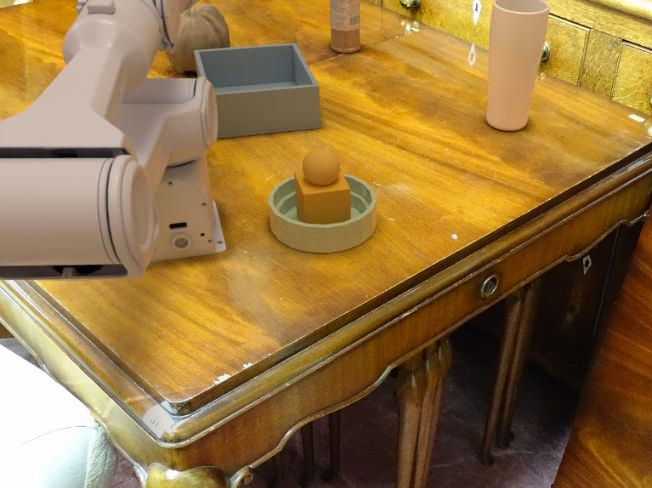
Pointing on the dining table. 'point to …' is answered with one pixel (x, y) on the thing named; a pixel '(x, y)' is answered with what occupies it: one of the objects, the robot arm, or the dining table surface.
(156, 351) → the dining table surface
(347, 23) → the sprinkles bottle
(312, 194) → the orange ball-topped block
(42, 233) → the robot arm
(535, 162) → the dining table surface
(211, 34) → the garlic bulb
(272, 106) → the bin
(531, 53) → the drinking glass
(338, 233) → the bowl
